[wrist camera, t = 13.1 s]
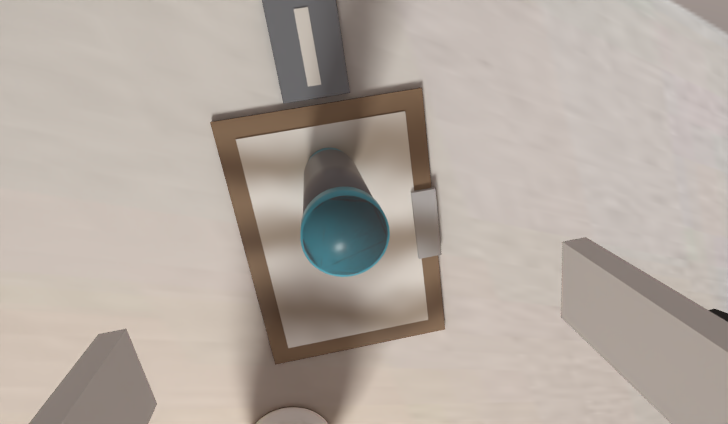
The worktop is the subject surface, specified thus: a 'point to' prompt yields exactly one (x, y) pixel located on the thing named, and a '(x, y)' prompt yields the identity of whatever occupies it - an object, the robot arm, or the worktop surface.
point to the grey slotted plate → (306, 48)
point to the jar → (292, 417)
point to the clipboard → (285, 210)
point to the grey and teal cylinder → (340, 217)
